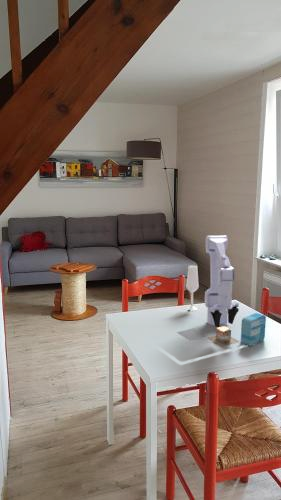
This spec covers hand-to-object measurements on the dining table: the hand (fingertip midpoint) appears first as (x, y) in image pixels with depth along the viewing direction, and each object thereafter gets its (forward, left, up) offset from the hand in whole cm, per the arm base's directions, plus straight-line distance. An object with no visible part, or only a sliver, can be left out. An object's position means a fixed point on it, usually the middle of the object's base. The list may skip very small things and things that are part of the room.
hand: (223, 324), depth 180 cm
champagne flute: (-14, -42, -8) cm, 45 cm away
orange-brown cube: (0, 0, -7) cm, 7 cm away
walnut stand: (0, 0, -8) cm, 8 cm away
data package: (-11, +6, -8) cm, 16 cm away
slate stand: (+8, -12, -8) cm, 16 cm away
